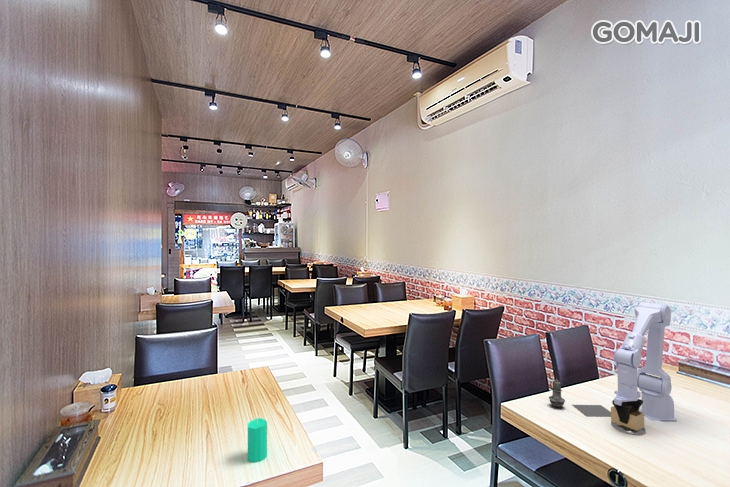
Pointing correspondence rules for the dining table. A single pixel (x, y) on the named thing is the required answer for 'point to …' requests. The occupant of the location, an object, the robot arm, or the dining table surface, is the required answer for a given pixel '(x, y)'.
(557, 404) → the stepped metal shaft
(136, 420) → the dining table surface
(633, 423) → the wooden cubby box
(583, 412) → the mat
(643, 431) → the hub
